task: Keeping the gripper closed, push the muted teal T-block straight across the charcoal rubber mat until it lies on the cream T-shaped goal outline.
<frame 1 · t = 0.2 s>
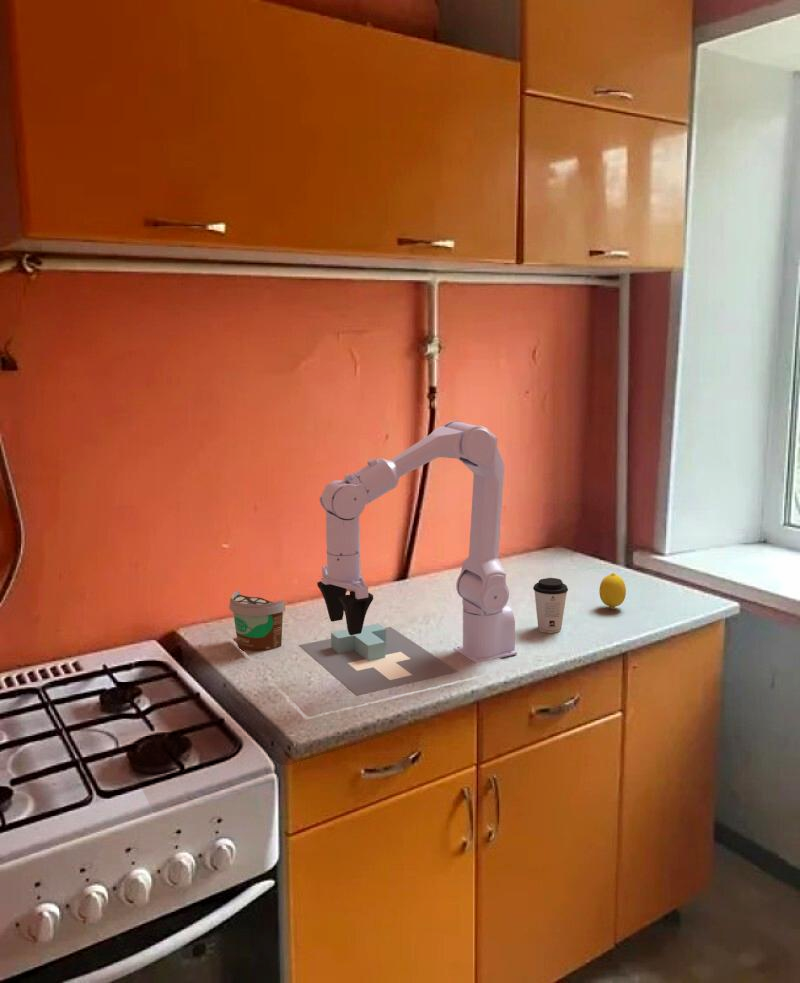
hand: (345, 626, 154), 10 cm above the table, tool pointing down, fingers open, 7 cm apart
food container: (252, 649, 171), on the table
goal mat: (375, 660, 165), on the table
coffee cup: (549, 629, 180), on the table
t block: (365, 650, 168), on the table, touching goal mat
lemon: (611, 609, 191), on the table
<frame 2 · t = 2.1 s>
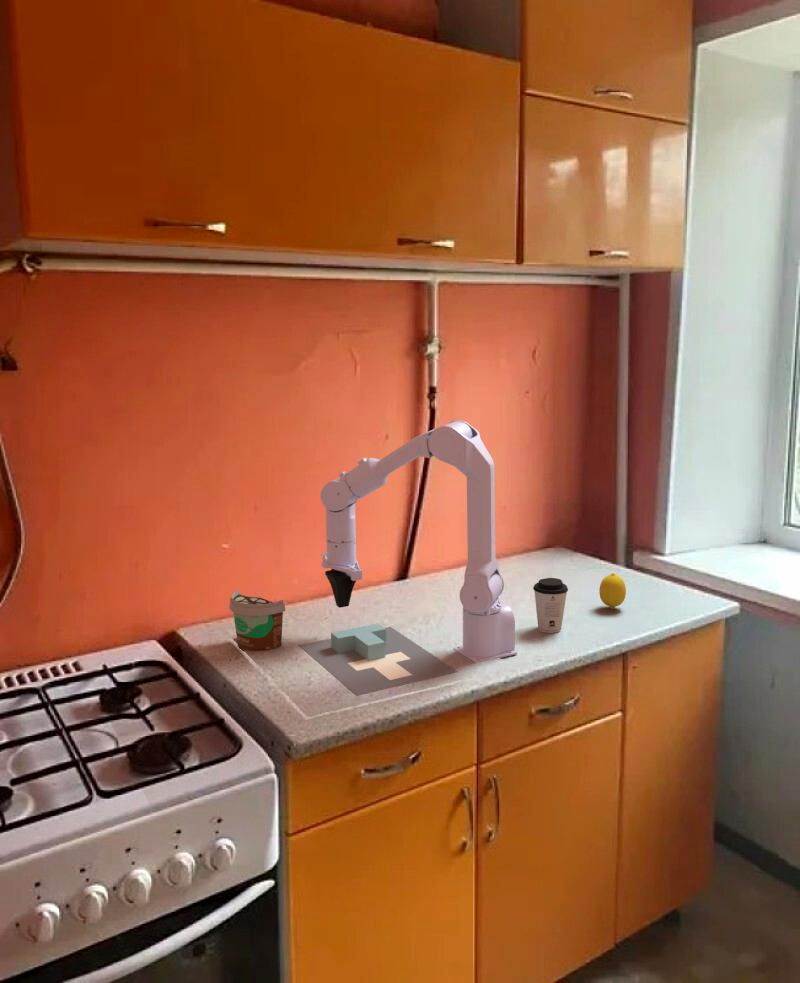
hand: (342, 605, 176), 6 cm above the table, tool pointing down, fingers closed
nothing on the table moved.
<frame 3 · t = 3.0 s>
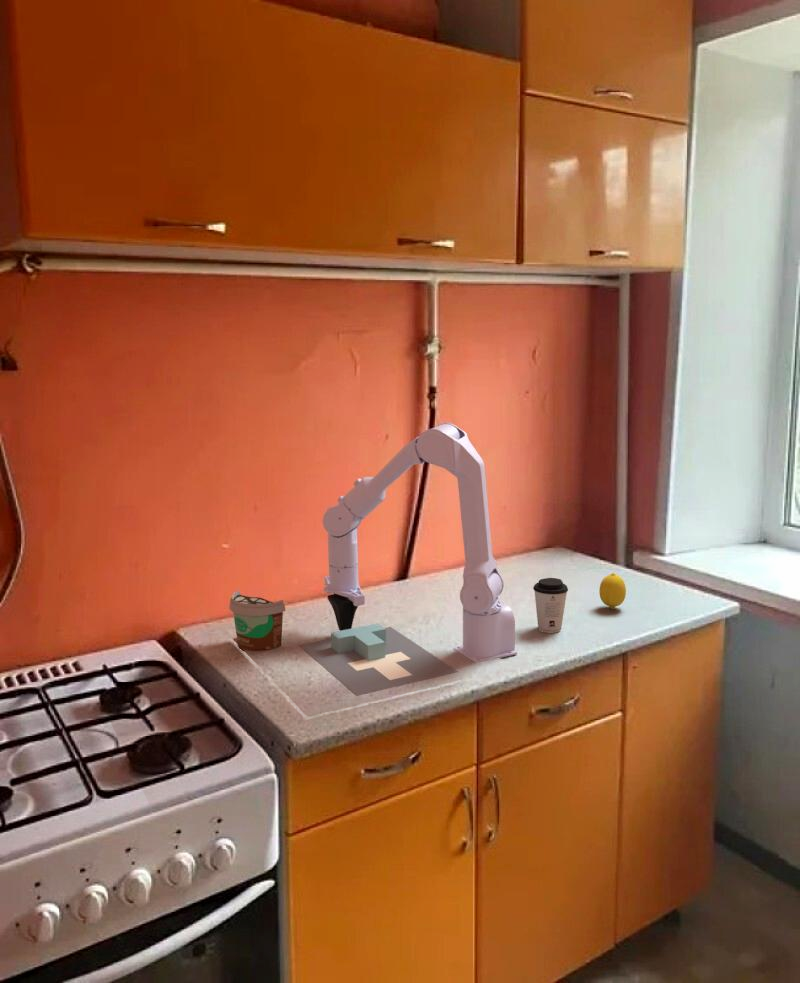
hand: (345, 630, 176), 2 cm above the table, tool pointing down, fingers closed
nothing on the table moved.
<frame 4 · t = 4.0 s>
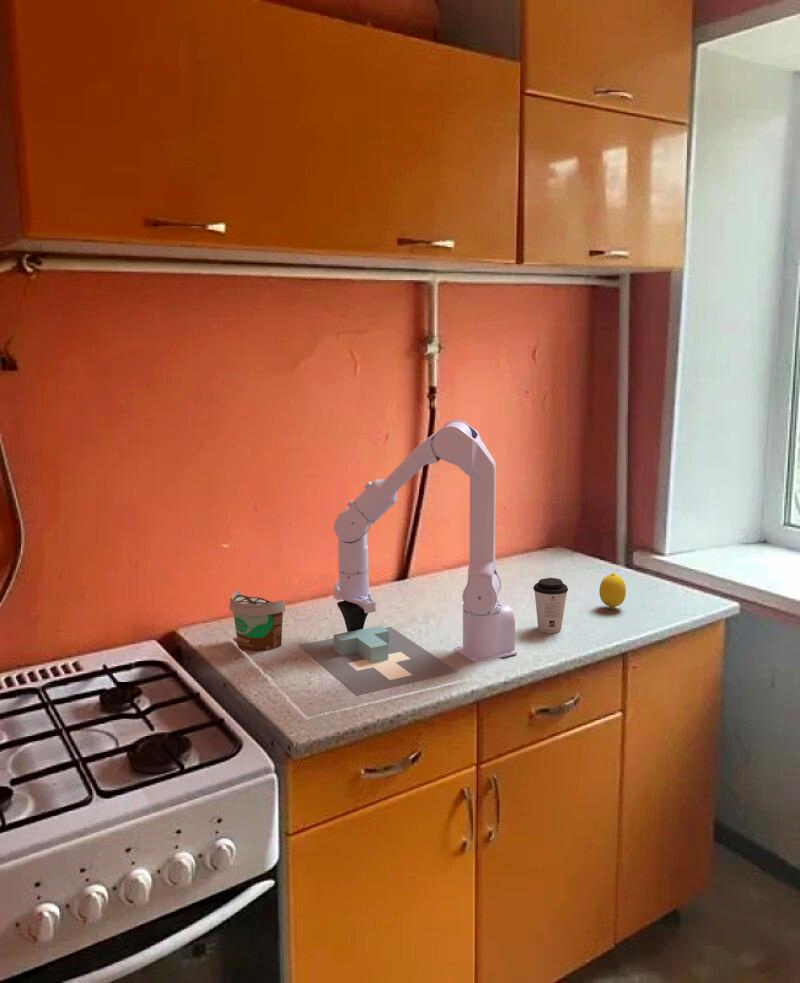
hand: (355, 637, 172), 2 cm above the table, tool pointing down, fingers closed
t block: (368, 652, 167), point 1 cm above the table, touching gripper
everything else where it was.
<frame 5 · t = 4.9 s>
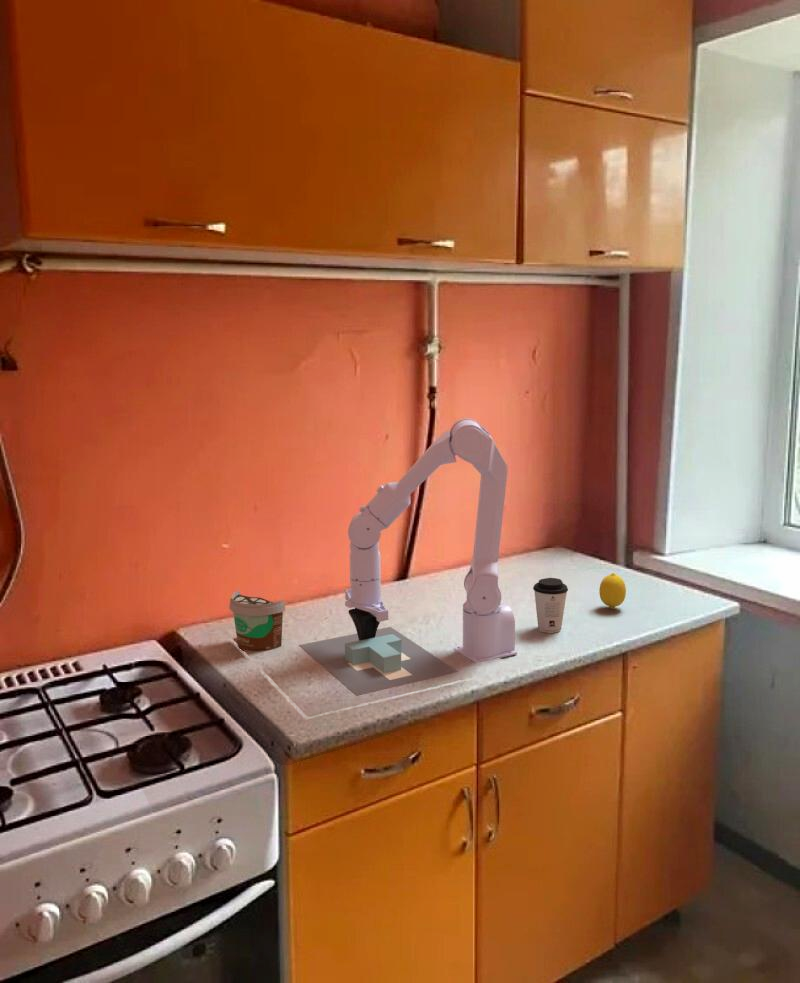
hand: (366, 646, 167), 2 cm above the table, tool pointing down, fingers closed
t block: (380, 662, 163), on the table, touching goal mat, gripper
everything else where it was.
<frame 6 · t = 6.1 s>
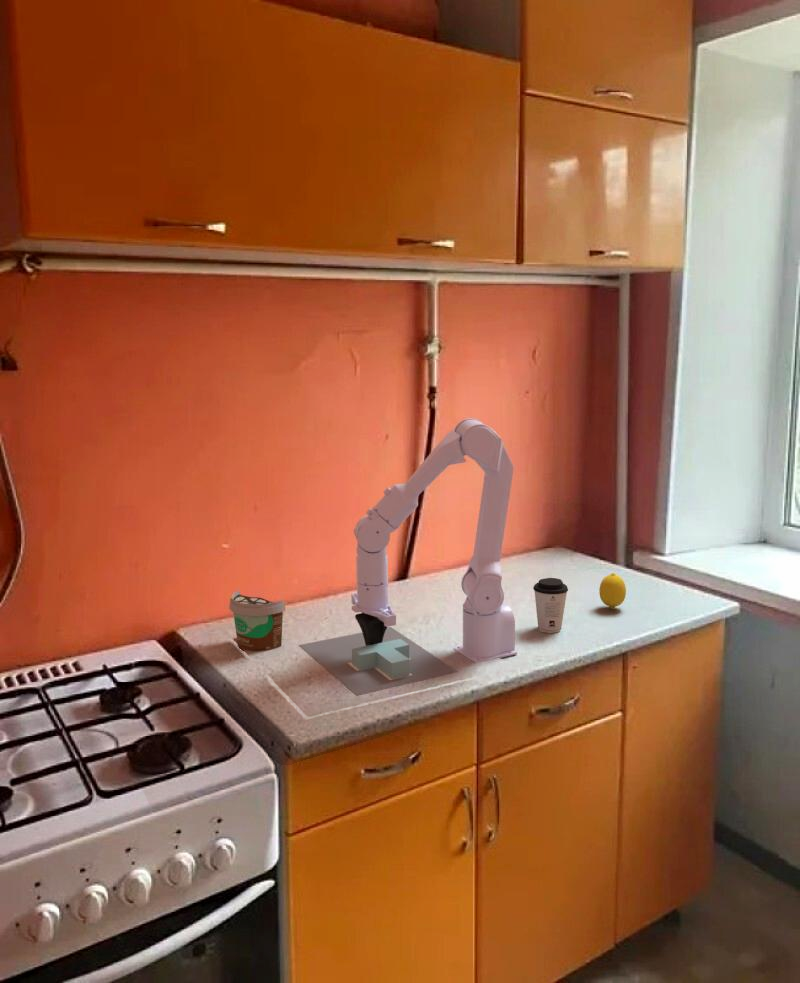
hand: (373, 651, 165), 2 cm above the table, tool pointing down, fingers closed
t block: (388, 667, 160), on the table, touching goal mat, gripper
everything else where it was.
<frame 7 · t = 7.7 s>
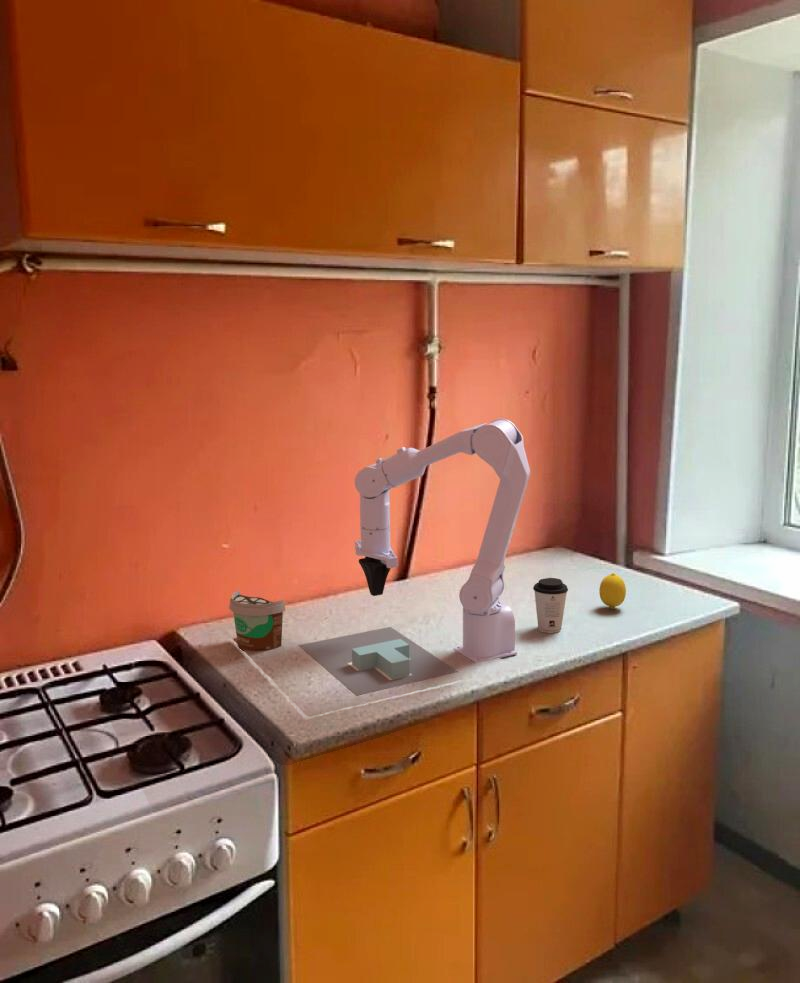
hand: (376, 594, 173), 9 cm above the table, tool pointing down, fingers closed
t block: (388, 667, 160), on the table, touching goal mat
everything else where it was.
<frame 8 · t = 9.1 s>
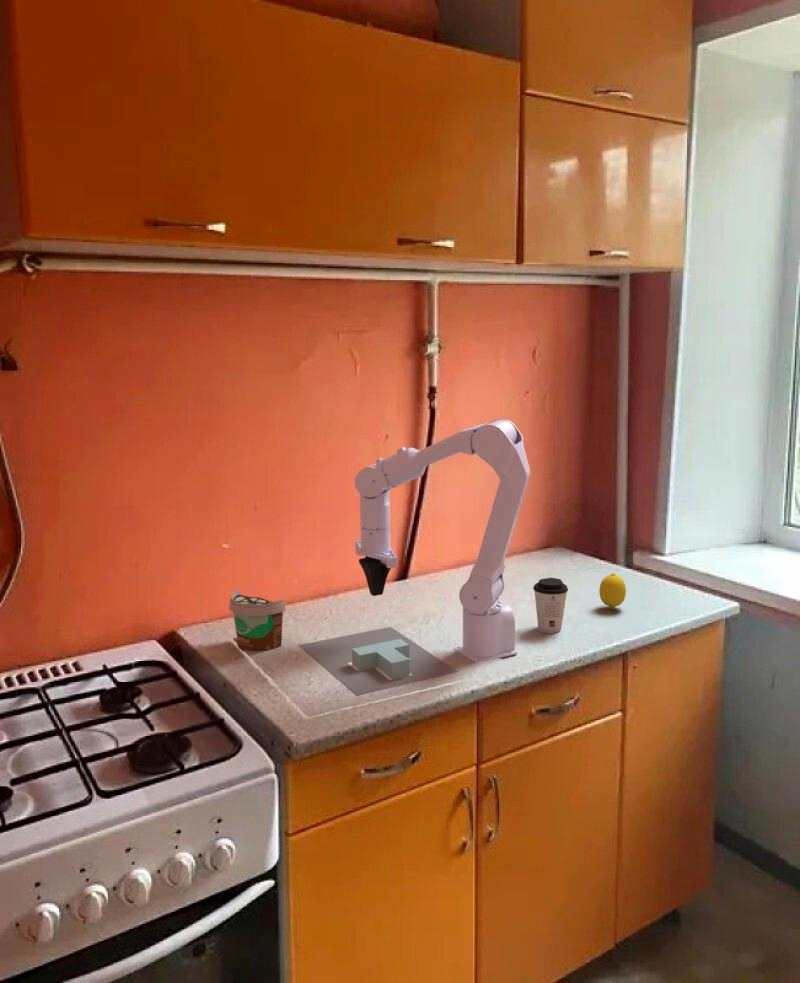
hand: (376, 594, 173), 9 cm above the table, tool pointing down, fingers closed
nothing on the table moved.
at the end: t block 0.4 cm from the target spot, point 0.5 cm above the table; t block tilted 0°; t block moved 9.4 cm from its start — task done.
